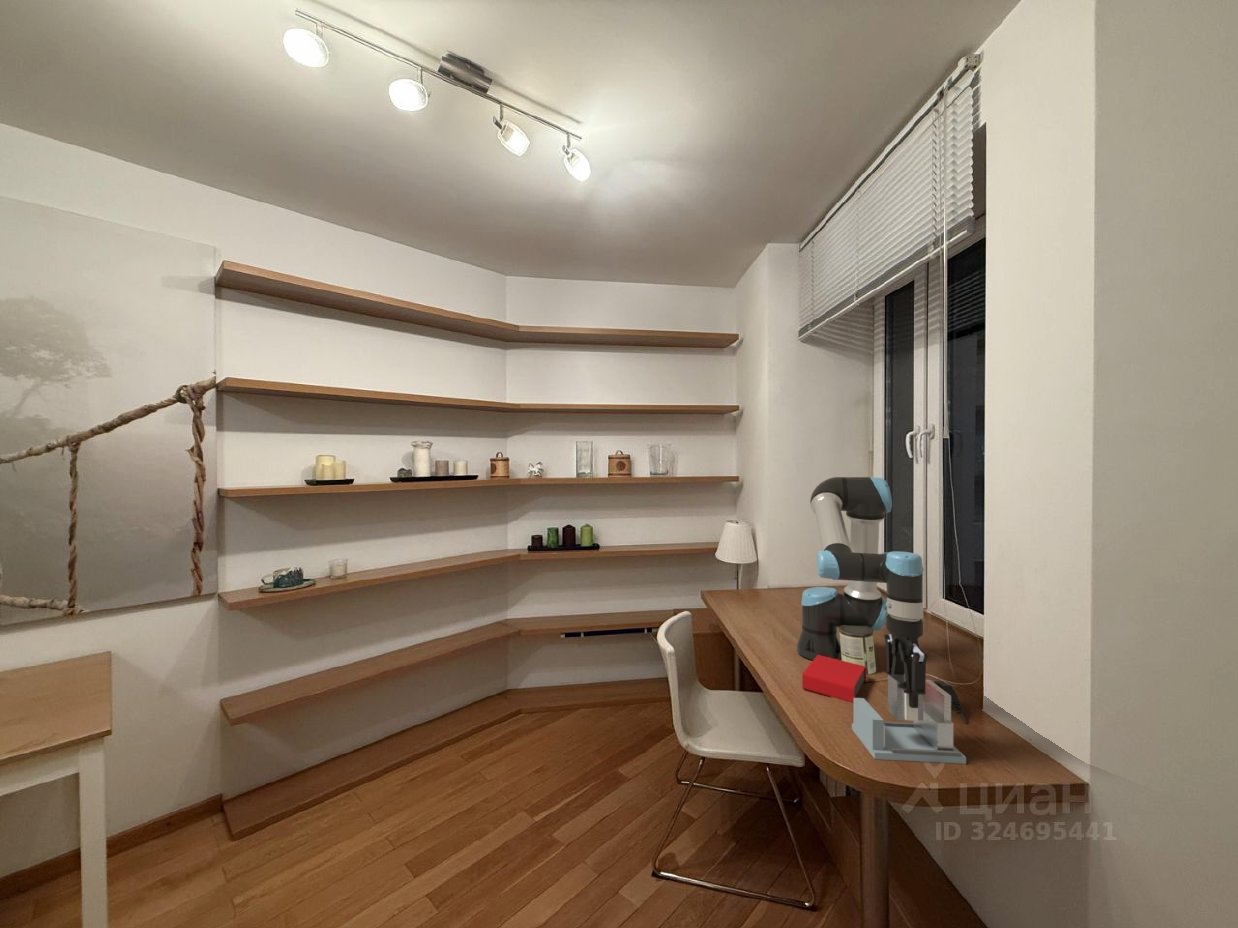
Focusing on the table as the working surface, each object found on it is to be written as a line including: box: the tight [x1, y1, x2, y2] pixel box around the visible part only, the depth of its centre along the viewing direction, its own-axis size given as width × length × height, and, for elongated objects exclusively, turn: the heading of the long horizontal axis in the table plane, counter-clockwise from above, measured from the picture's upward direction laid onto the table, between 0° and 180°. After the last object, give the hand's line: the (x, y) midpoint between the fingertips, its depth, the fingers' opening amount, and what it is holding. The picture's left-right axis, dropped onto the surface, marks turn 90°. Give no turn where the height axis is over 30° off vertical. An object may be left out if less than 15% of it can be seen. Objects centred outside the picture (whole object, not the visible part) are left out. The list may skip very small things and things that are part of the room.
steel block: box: [887, 674, 924, 721], centre depth 109 cm, size 4×6×9 cm, turn 88°
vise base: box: [851, 697, 967, 765], centre depth 109 cm, size 12×20×8 cm, turn 86°
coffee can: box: [838, 625, 877, 676], centre depth 152 cm, size 10×10×14 cm
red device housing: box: [801, 655, 867, 704], centre depth 140 cm, size 18×14×5 cm
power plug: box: [933, 680, 969, 725], centre depth 125 cm, size 6×8×12 cm
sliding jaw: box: [912, 679, 954, 751], centre depth 109 cm, size 10×4×12 cm, turn 176°
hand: (905, 714), depth 109 cm, fingers closed on steel block, 4 cm apart
